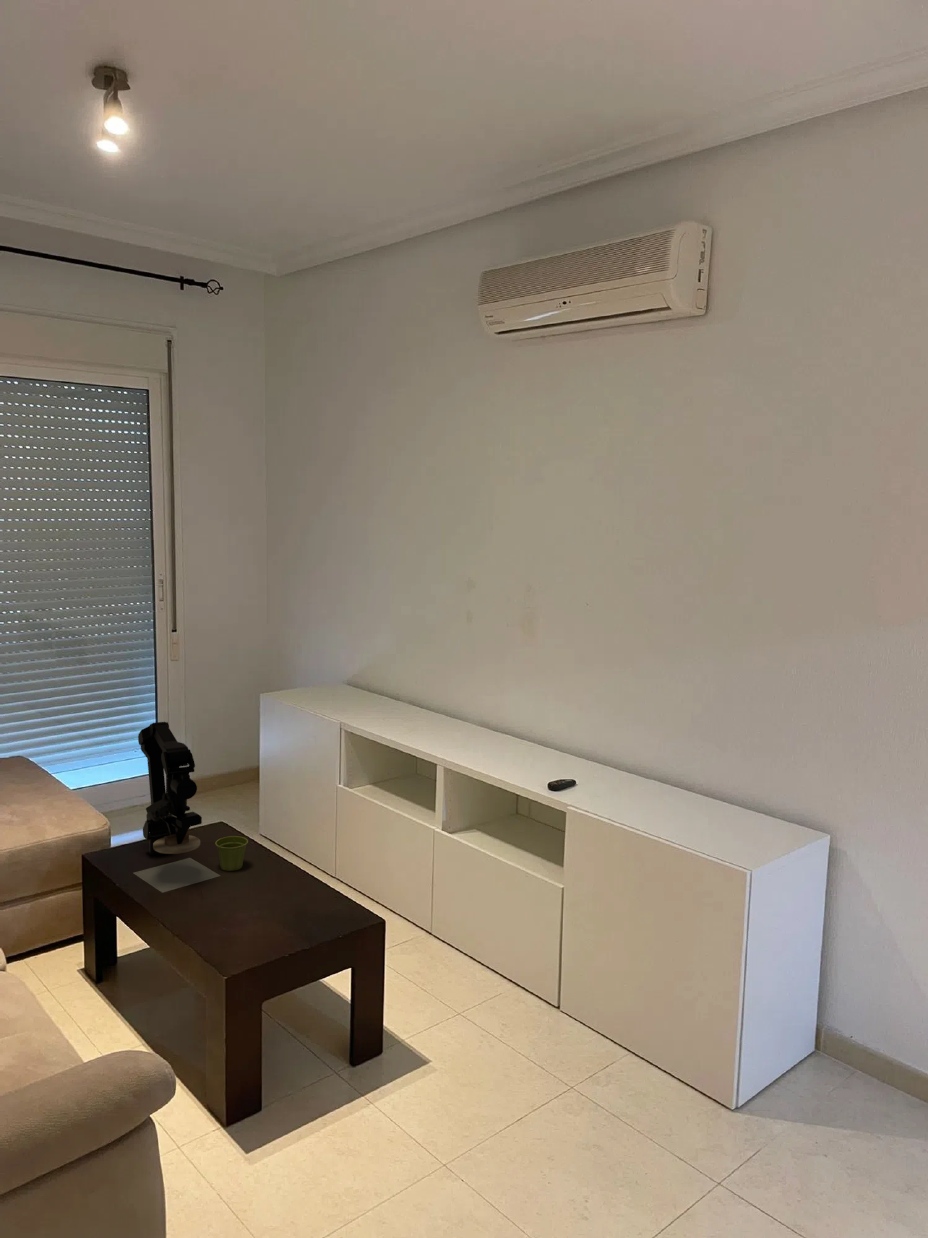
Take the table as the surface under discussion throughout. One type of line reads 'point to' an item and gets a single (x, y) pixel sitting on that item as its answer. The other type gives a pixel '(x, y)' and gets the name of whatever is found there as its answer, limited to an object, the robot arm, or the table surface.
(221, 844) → the plant pot
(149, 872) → the mat
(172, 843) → the lid
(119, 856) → the table surface
